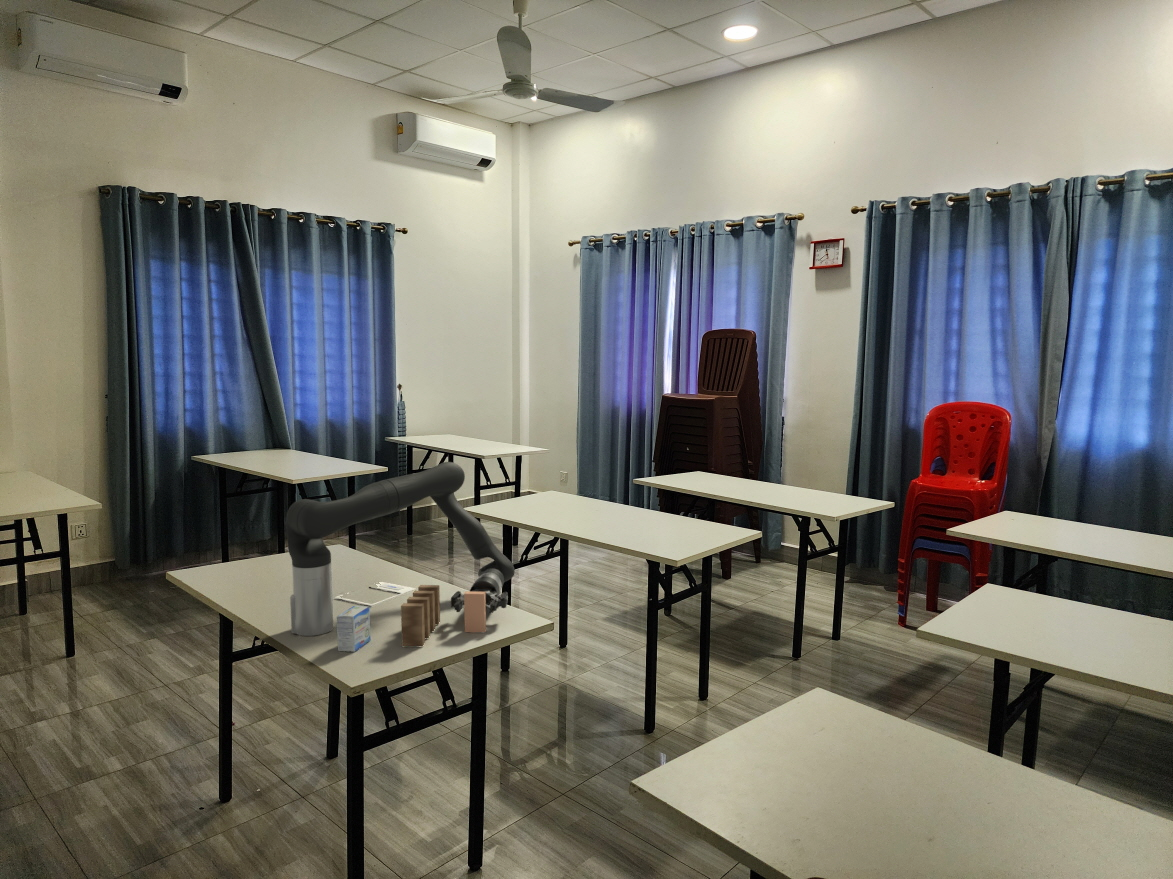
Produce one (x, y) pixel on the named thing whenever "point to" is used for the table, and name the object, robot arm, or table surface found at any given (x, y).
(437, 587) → the tile
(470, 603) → the tile
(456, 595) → the robot arm
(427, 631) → the tile
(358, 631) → the medicine box
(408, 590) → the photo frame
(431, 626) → the tile
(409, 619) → the tile
